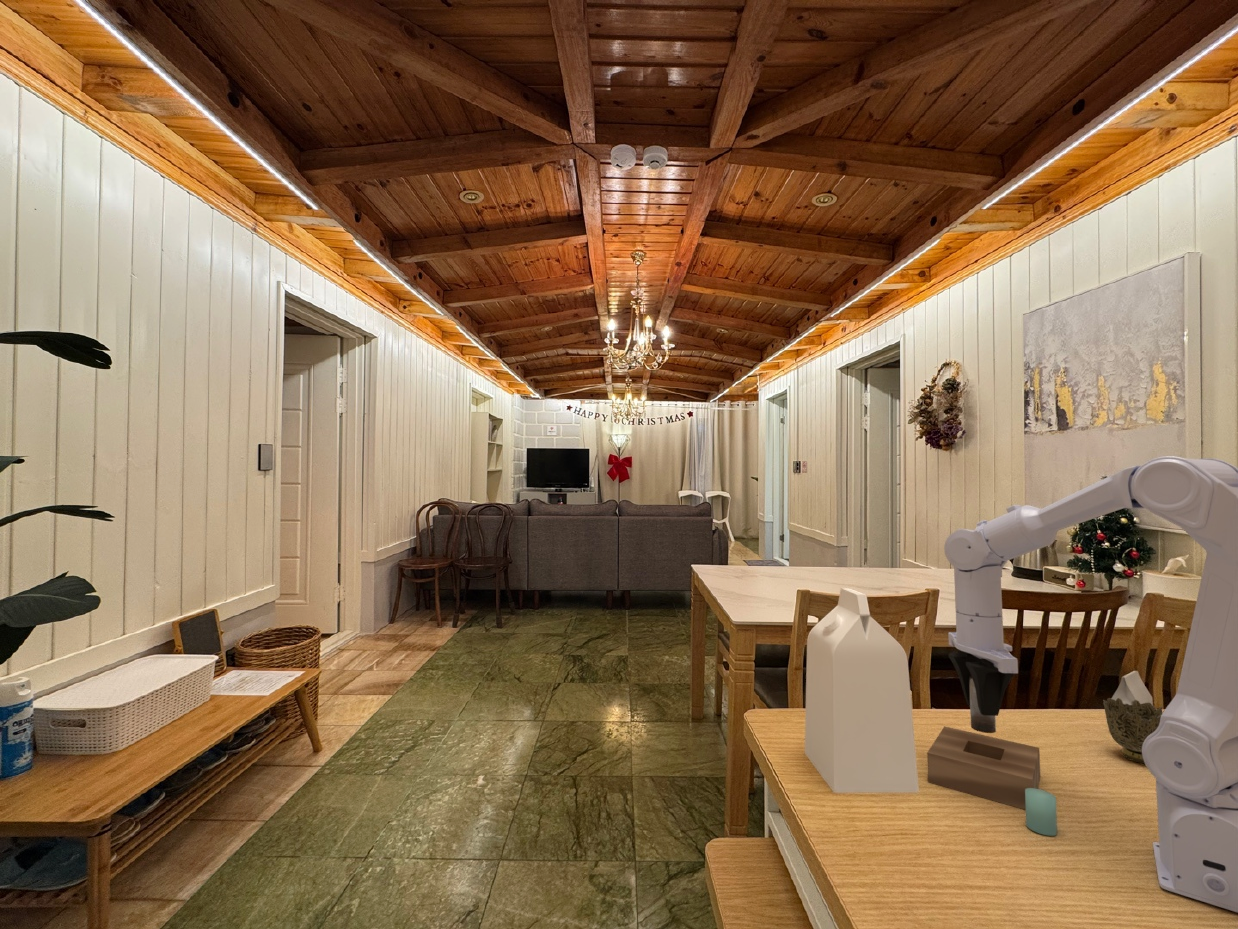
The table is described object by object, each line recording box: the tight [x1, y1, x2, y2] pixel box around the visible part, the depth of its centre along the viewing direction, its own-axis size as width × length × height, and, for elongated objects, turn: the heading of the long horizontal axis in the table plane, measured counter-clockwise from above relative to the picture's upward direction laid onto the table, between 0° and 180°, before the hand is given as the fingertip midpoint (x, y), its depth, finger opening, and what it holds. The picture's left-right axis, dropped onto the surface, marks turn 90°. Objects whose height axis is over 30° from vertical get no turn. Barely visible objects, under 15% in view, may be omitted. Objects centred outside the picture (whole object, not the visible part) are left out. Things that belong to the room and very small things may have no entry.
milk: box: [804, 587, 920, 794], centre depth 84 cm, size 12×12×26 cm
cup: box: [1103, 697, 1165, 764], centre depth 87 cm, size 8×7×8 cm
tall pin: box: [969, 676, 997, 734], centre depth 81 cm, size 3×3×7 cm
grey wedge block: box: [1111, 670, 1154, 706], centre depth 96 cm, size 4×7×10 cm, turn 124°
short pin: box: [1025, 788, 1058, 837], centre depth 68 cm, size 3×3×4 cm
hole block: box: [926, 725, 1041, 811], centre depth 81 cm, size 12×12×4 cm
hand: (982, 710), depth 81 cm, fingers closed on tall pin, 3 cm apart
